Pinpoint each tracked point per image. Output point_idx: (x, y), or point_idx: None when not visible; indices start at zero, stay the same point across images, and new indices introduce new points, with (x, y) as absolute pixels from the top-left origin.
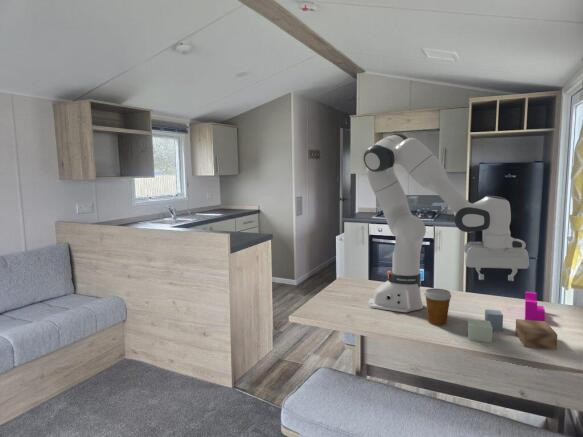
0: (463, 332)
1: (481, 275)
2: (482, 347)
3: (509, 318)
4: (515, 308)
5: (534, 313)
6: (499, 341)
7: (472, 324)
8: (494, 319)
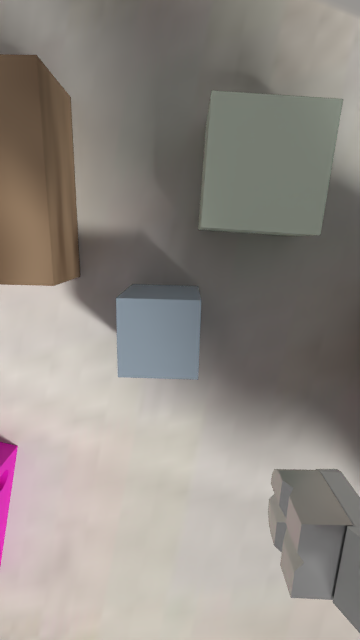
0: None
1: (343, 522)
2: (266, 31)
3: (76, 452)
4: (34, 570)
5: None
6: (169, 144)
7: (317, 132)
8: (163, 294)
